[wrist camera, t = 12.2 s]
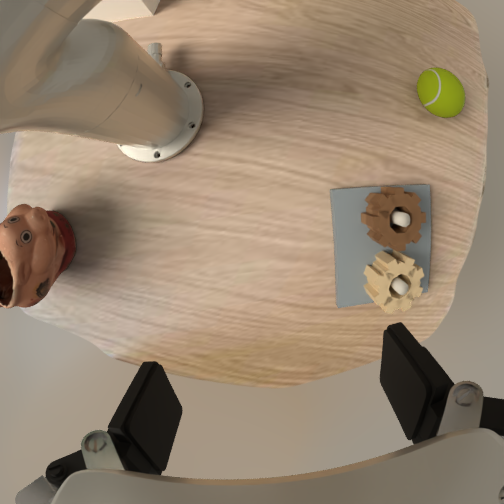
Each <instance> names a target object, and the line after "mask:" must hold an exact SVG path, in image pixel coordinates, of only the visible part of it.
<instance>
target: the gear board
mask: <svg viewBox="0 0 504 504" xmlns="http://www.w3.org/2000/svg"><path fill="white" fill-rule="evenodd" d="M381 187H388V186H374V187H358V188H343V189H330V198H331V209H332V222H333V236H334V253H335V278H336V305H337V307H338V308H341V307H348V306H354V305H361V304H367V303H373V302H375V303H376V305H379V306H380V307H381V308H382V309H383V311H384V312H386V313H390V314H393V312H394V310H395V309H398V310H399V309H400V308H401V309H402V311H403V312H404V311H406V310H407V309H409V308H411V304H410V302H411V301H413V300H414V298H415V296H417V297H420V295H421V293H425V292H428V282H429V270H430V252H431V200H430V185H426V184H423V185H394V186H390V187H403V188H404V191H405V192H414V193H416V194H417V196H418V197H419V198H420V199H421V201H420V202H419V204H418V206H419V207H420V208H421V211H422V212H426V223H421V229H420V230H419V233H420V234H421V235H422V237H421V238H420V239H419V241H418V242H417V243H416V244H415V243H413V242H410V244H406V250H405V251H398V252H397V251H395V250H393V249H392V248H390V247H388V246H387V247H386V248H385V247H383V246H382V245H380V244H378V243H377V242H375V241H373V240H372V239H371V238H370V237H369V236H368V235H367V233H368V232H369V230H370V229H369V228H368V227H367V225H365V224H363V223H361V213H364V212H366V207H367V206H368V203H367V202H366V201H365V199H366V197H367V196H368V195H369V193H381ZM389 219H390V227H392V225H393V224H397V225H400V226H402V227H407V226H408V225H409V224H410V216H409V215H408V214H407V213H403V212H399V211H397V209H396V208H394V210H393V211H392V212H391V214H390V215H389Z"/></svg>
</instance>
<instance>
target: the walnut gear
mask: <svg viewBox="0 0 504 504" xmlns="http://www.w3.org/2000/svg"><path fill="white" fill-rule="evenodd" d="M365 201H366V202H367V203H368V206H367V207H366V212H364V213H361V223H363V224H365V225H367V227H368V228H369V229H370V230H369V232H368V233H367V235H368V236H369V237H370V238H371V239H372V240H373V241H375V242H377V243H378V244H380V245H382V246H383V247H385V248H386V247H387V246H388V247H390V248H392V249H393V250H395V251H397V252H398V251H405V250H406V244H410V242H413V243H415V244H416V243H417V242H418V241H419V239H420V238H421V237H422V235H421V234H420V233H419V230H420V229H421V223H426V212H422V211H421V208H420V207H419V206H418V204H419V202H420V201H421V199H420V198H419V197H418V196H417V194H416V193H414V192H405V191H404V188H403V187H390V186H388V187H381V193H369V195H368V196H367V197H366V199H365ZM394 208H396V209H397V211H399V212H403V213H407V214H408V215H409V216H410V224H409V225H408V226H407V227H402V226H400V225H397V224H393V225H392V227H390V219H389V215H390V214H391V212H392V211H393V210H394Z"/></svg>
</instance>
